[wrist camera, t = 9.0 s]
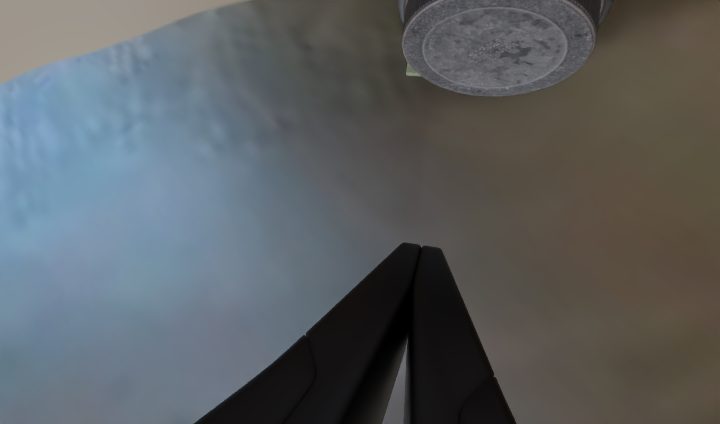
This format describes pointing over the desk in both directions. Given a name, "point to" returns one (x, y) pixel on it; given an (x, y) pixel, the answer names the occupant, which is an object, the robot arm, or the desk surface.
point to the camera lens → (499, 42)
